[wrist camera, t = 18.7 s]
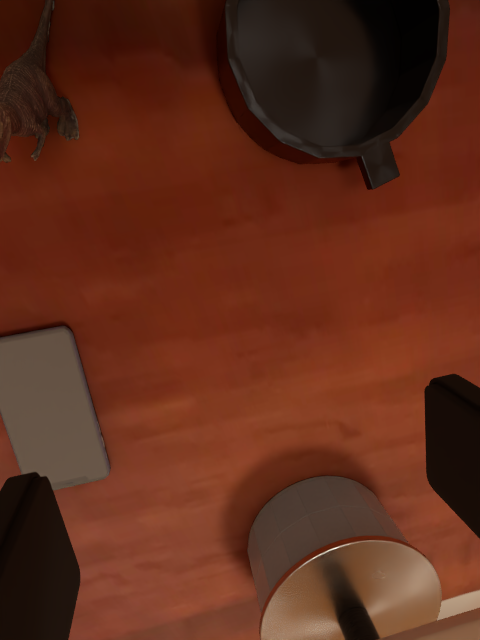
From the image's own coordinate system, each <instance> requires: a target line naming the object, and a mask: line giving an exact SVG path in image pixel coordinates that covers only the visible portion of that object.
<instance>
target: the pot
mask: <svg viewBox="0 0 480 640" xmlns="http://www.w3.org/2000/svg"><path fill="white" fill-rule="evenodd" d="M357 536H385V537H391V538H395V539H399V540H401V541H404V542H406V543H408V541H407V540H406V539H405V537H404V536H403V534H402V533H401V532H400V530H399V529H398V527H397V526H396V524H395V523H394V522H393V520H392V519H391V517H390V516H389V514H388V513H387V512H386V510H385V509H384V507H383V506H382V504H381V503H380V502H379V500H378V499H377V497H376V496H375V494H374V493H373V492H372V491H370V490H369V489H368V488H367V487H365V486H364V485H362V484H360V483H358V482H356V481H354V480H351V479H348V478H345V477H338V476H320V477H314V478H309V479H306V480H303V481H300V482H297V483H295V484H293V485H291V486H289V487H287V488H285V489H284V490H282V491H281V492H279V493H278V494H277V495H275V496H274V497H273V498H272V499H271V500H270V501H269V502H268V503H267V504H266V505H265V506H264V507H263V508H262V509H261V511H260V512H259V514H258V515H257V517H256V519H255V521H254V523H253V525H252V527H251V530H250V533H249V539H248V549H247V552H248V556H249V561H250V565H251V570H252V574H253V579H254V583H255V588H256V592H257V597H258V601H259V606H260V610H261V613H262V610H263V607H264V604H265V602H266V600H267V598H268V596H269V594H270V592H271V590H272V589H273V587H274V586H275V585H276V583H277V582H278V581H279V579H280V578H281V577H282V576H283V575H284V574H285V573H286V572H287V571H288V570H289V569H290V568H291V567H292V566H293V565H294V564H296V563H297V562H298V561H300V560H301V559H302V558H304V557H305V556H307V555H308V554H310V553H312V552H313V551H315V550H317V549H319V548H321V547H323V546H325V545H328V544H330V543H333V542H336V541H339V540H342V539H347V538H351V537H357ZM408 544H409V543H408Z"/></svg>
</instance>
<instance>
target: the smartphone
mask: <svg viewBox="0 0 480 640" xmlns="http://www.w3.org/2000/svg"><path fill="white" fill-rule="evenodd" d="M0 413H1V416H2V419H3V422H4V425H5V428H6V431H7V433H8V436H9V439H10V442H11V445H12V448H13V451H14V453H15V456H16V459H17V462H18V465H19V468H20V471H21V474H22V475H23V474H27V473H31V472H37V473H38V474H39V475H40V477H43V476H47V477H48V479H49V481H50V483H51V486H52V489H53V490H58V489H62V488H66V487H71V486H75V485H80V484H84V483H88V482H93V481H97V480H102V479H105V478H106V477H107V476H108V475H109V472H110V468H111V467H110V464H109V460H108V457H107V453H106V450H105V444H104V441H103V437H102V435H101V430H100V426H99V423H98V421H97V417H96V414H95V410H94V407H93V403H92V400H91V396H90V392H89V389H88V385H87V382H86V378H85V375H84V371H83V367H82V364H81V360H80V357H79V353H78V350H77V346H76V342H75V339H74V335H73V333H72V331H71V330H70V329H69V328H67V327H66V326H59V327H53V328H48V329H43V330H37V331H32V332H27V333H21V334H16V335H11V336H5V337H0Z"/></svg>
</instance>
